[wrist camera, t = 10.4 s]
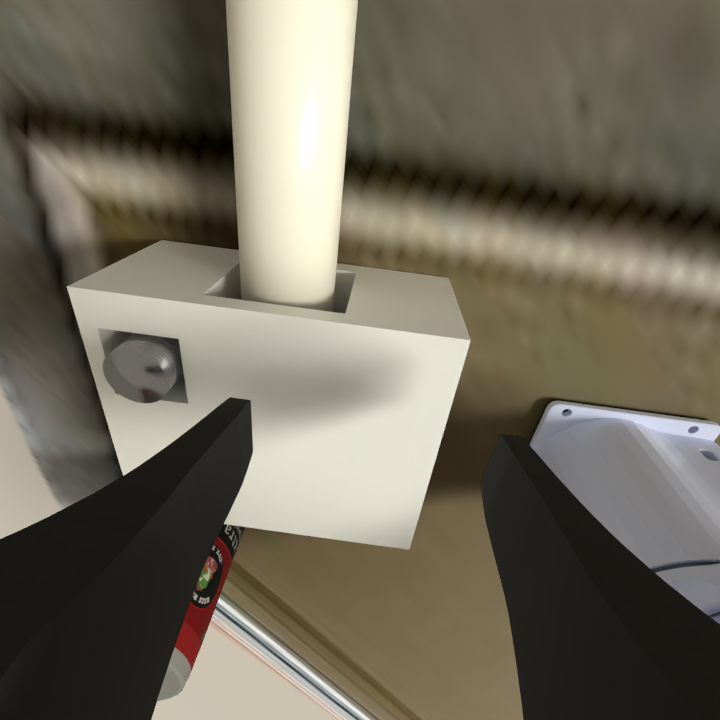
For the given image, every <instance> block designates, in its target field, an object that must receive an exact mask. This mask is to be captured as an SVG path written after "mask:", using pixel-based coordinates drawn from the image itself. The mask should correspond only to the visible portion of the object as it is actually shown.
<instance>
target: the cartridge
mask: <svg viewBox="0 0 720 720" xmlns="http://www.w3.org/2000/svg"><path fill="white" fill-rule="evenodd" d="M357 5H358V0H226V17H227V36H228V55H229V73H230V92H231V111H232V130H233V149H234V168H235V187H236V206H237V225H238V244H239V263H240V282H241V300H246V301H254V302H261V303H269V304H276V305H284V306H291V307H299V308H306V309H314V310H321V311H329V312H333V305H334V292H335V280H336V267H337V255H338V242H339V230H340V217H341V205H342V192H343V180H344V167H345V155H346V142H347V130H348V117H349V105H350V92H351V80H352V67H353V55H354V42H355V30H356V17H357Z"/></svg>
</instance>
